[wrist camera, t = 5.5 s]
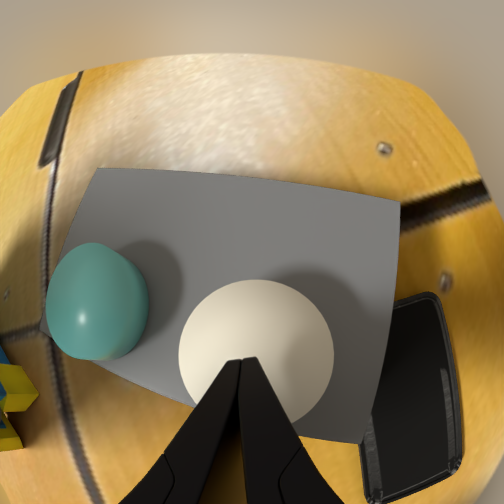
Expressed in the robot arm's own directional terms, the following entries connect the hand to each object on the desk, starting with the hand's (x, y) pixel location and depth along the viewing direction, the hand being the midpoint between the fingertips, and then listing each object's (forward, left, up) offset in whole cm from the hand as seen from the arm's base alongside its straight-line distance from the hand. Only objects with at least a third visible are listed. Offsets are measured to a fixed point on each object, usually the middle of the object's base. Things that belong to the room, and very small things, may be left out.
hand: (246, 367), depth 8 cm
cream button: (0, 0, -6) cm, 6 cm away
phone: (-2, -10, -12) cm, 15 cm away
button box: (+3, +4, -11) cm, 12 cm away
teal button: (0, +8, -6) cm, 10 cm away
